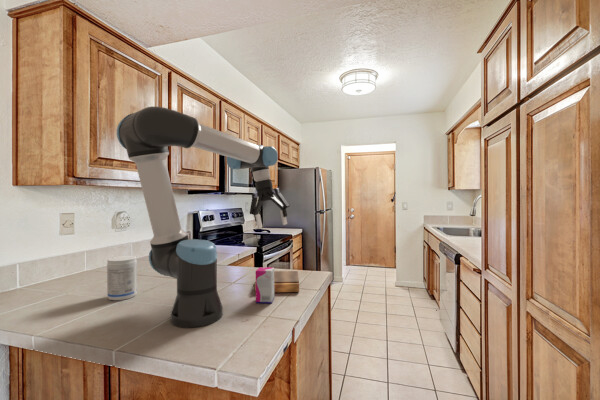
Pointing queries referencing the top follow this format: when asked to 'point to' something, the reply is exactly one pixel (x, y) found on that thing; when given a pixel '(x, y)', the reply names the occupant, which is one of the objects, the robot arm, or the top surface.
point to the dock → (285, 281)
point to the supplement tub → (122, 277)
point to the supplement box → (265, 285)
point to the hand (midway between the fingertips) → (272, 226)
